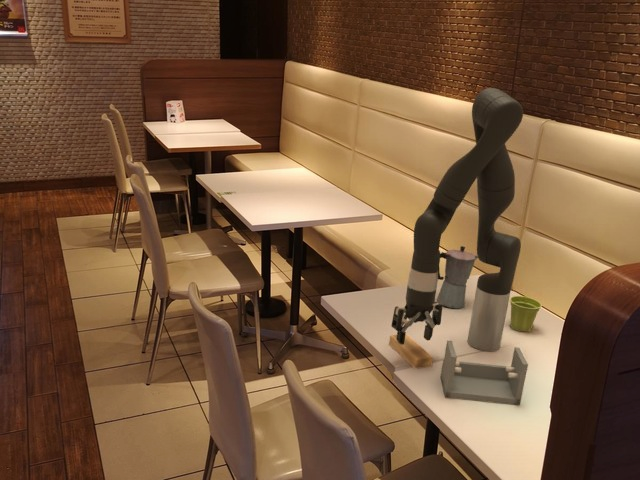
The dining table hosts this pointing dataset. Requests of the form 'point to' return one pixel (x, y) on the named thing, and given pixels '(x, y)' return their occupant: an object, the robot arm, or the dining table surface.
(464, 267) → the moka pot
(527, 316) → the plant pot
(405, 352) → the shelf board
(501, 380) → the grey rack
